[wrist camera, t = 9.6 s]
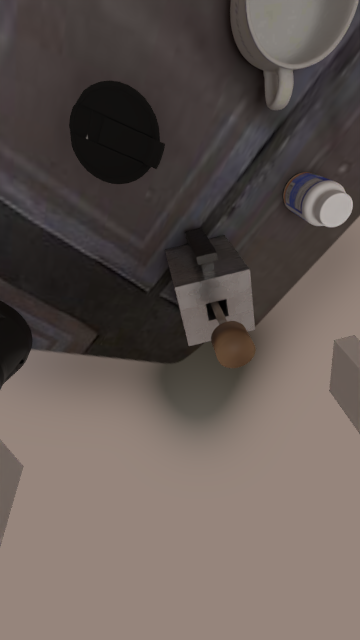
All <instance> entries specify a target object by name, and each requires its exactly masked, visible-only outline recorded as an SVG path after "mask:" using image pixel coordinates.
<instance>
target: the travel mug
mask: <svg viewBox="0 0 360 640" xmlns="http://www.w3.org/2000/svg"><path fill="white" fill-rule="evenodd" d="M69 127H70V131H71V132H70V134H71V142H72V147H73V150H74V152H75V154H76V156H77V158H78V159H79V161H80V163H81V164H82V165H83V166H84V167H85V168H86V170H87V171H88V172H90V173H91V174H92V175H94V176H95V177H97V178H99V179H100V180H102V181H105V182H109V183H113V184H124V183H129V182H132V181H135V180H137V179H139V178H140V177H142V176H143V175H144V174H145V173H146V172H147V171H148V170H149V169H150V168H151V167H153V168H155V169H157V167H158V165H159V163H160V160H161V158H162V154H163V151H164V146H165V144H164V143H161V142H160V137H159V127H158V123H157V119H156V116H155V114H154V112H153V110H152V108H151V106H150V105H149V103H148V102H147V101H146V99H145V98H144V97H143V96H142V95H141V94H140V93H139V92H138V91H137V90H135V89H133V88H132V87H130V86H129V85H126V84H123V83H121V82H115V81H103V82H98V83H96V84H93V85H91V86H90V87H88V88H87V89H85V90H84V91H83V93H82V94H81V96H80V97H79V99H78V101H77V103H76V104H75V105H74V106H73V109H72V112H71V115H70V124H69Z"/></svg>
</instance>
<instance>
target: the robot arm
mask: <svg viewBox="0 0 360 640" xmlns="http://www.w3.org/2000/svg"><path fill="white" fill-rule="evenodd" d="M31 346H32V336H31V332H30V329H29V327H28V325H27V323H26V322H25V320H24V319H23V318H22V317H21V316H20V315H19V314H18V313H17V312H16V311H15V310H14V309H12V308H11V307H9V306H8V305H6V304H4V303H2V302H0V389H1V387H2V385H3V384H4V383H5V382H6V381H7V380H8V379H9V378H10V377H11V376H12V375H13V374H15V373H16V372H17V371H18V370H19V369H20V368H21V367H22V366H23V364H24V363H25V361H26V360H27V357H28V355H29V352H30V350H31ZM329 391H330V392H331V394H332V395H333V396H334V398H335V399H336V400H337V402H338V404H339V405H340V407H341V408H342V409H343V411H344V412H345V414H346V415H347V416H348V418H349V419H350V421H351V422H352V423H353V425H354V426H355V428H356V429H357V431H358V432H359V433H360V340H359V339H358V338H357V337H356V336H355V335H353V336H349V337H345V338H341V339H337V340H334V348H333V358H332V369H331V380H330V390H329ZM22 469H23V465H22V464H21V463H20V462H19V461H18V460H17V458H16V457H15V456H14V455H13V454H12V453H11V452H10V450H9V449H8V448H7V447H6V446H5V444H4V443H3V442H2V441H1V440H0V546H1V542H2V538H3V535H4V532H5V528H6V525H7V521H8V518H9V514H10V511H11V508H12V504H13V501H14V497H15V494H16V490H17V487H18V483H19V480H20V476H21V473H22Z"/></svg>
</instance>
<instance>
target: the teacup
mask: <svg viewBox="0 0 360 640" xmlns="http://www.w3.org/2000/svg"><path fill="white" fill-rule="evenodd" d="M358 1H359V0H231V6H230V21H231V28H232V33H233V37H234V40H235V42H236V45H237V47H238V49H239V51H240V52H241V54H242V55H243V57H244V58H245V59H246V60H247V61H248V62H249V63H250V64H252V65H253V66H255V67H257V68H259V69H261V70H263V75H264V79H265V99H266V104H267V106H268V108H269V109H271V110H281V109H283V108H284V107H285V106H286V105H287V104H288V102H289V100H290V97H291V94H292V90H293V81H294V80H293V70H296V69H302V68H306V67H309V66H312V65H314V64H316V63H318V62H319V61H321V60H322V59H324V58H325V57H326V56H327V55H328V54H329V53H331V52H332V51H333V50H334V48H335V47H336V46H337V45H338V44H339V42H340V41H341V39H342V38H343V36H344V35H345V33H346V31H347V29H348V27H349V25H350V23H351V21H352V19H353V17H354V14H355V11H356V8H357V5H358ZM278 80H279V83H278Z"/></svg>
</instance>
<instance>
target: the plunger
mask: <svg viewBox="0 0 360 640" xmlns="http://www.w3.org/2000/svg"><path fill="white" fill-rule="evenodd" d="M210 304H211V306H212V309H213V311H214V314H215V316H216V318H217V321H218V323H219V326H217V327H216V328H215V329H214V331H213V333H212V335H211V341H212V344H213V347H214V350H215V353H216V356H217V358H218V361H219V362H220V364H222V365H223V366H225V367H228V368H238V367H241V366H243V365H245V364H247V363H248V362H249V361H250V360H251V359H252V358H253V357H254V354H255V345H254V343H253V341H252V340H251V338H250V336H249V334H248V332H247V330H246V328H245V327H244V325H243V324H241V323H239V322H236V321H228V322H227V320H226V318H225V316H224V314H223V311H222V309H221V307H220V305H219V303H218V301H216V302H211V303H210Z"/></svg>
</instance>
